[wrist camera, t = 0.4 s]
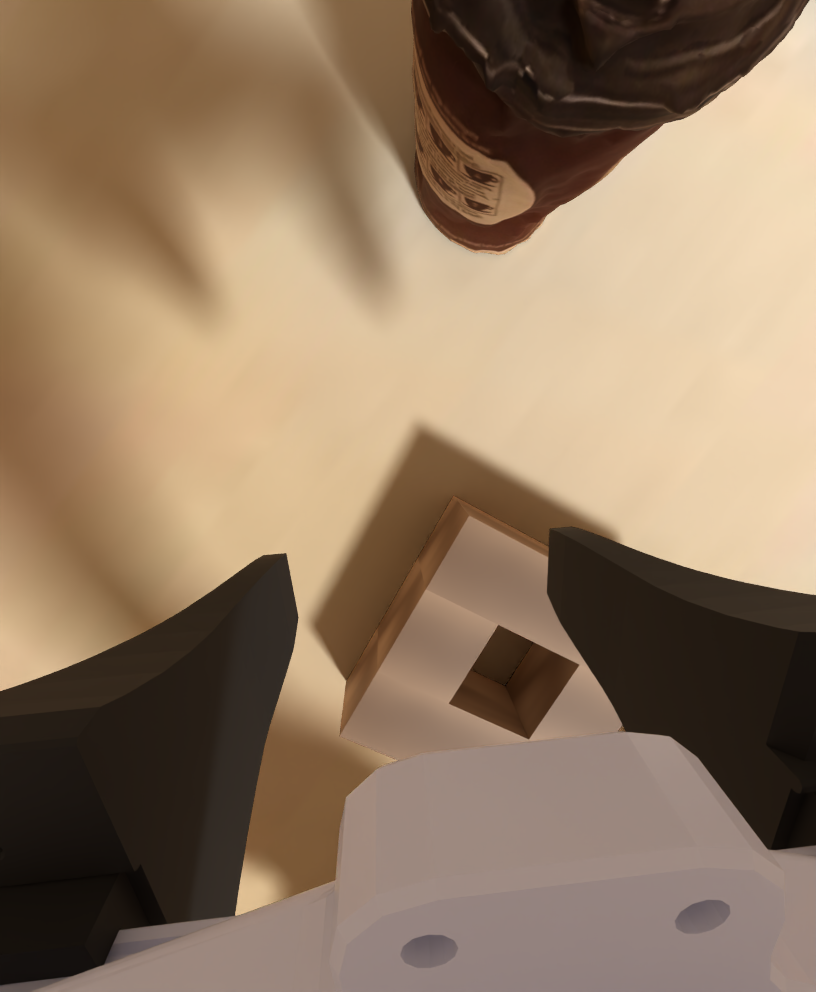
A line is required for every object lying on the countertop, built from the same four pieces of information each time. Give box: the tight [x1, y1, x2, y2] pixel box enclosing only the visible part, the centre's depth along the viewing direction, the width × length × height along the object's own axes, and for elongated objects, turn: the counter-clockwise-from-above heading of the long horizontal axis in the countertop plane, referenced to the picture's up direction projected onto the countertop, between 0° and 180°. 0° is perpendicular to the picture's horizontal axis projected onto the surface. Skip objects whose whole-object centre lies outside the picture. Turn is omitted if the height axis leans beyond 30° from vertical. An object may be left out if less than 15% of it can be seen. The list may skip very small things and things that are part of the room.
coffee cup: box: [411, 0, 809, 255], centre depth 13 cm, size 9×8×13 cm
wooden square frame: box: [340, 496, 622, 761], centre depth 22 cm, size 12×12×4 cm
